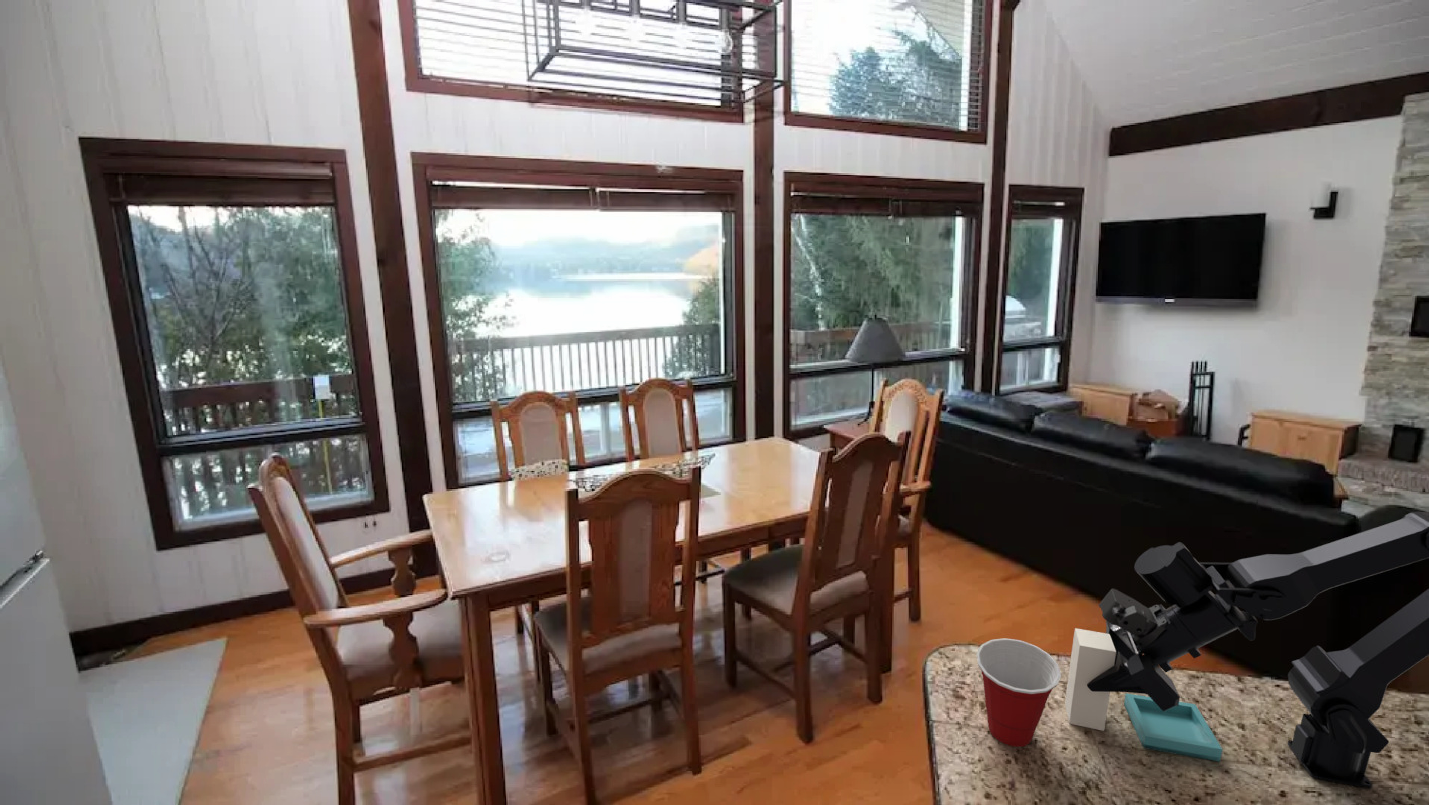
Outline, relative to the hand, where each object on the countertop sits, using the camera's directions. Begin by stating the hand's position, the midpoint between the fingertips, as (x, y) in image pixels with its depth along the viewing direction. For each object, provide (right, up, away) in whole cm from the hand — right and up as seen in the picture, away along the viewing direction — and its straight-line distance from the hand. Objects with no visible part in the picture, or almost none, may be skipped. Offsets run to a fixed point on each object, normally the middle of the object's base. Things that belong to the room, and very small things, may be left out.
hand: (1086, 677), depth 95 cm
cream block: (+1, -6, +1) cm, 7 cm away
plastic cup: (-12, -8, -2) cm, 14 cm away
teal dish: (+11, -7, -2) cm, 13 cm away
